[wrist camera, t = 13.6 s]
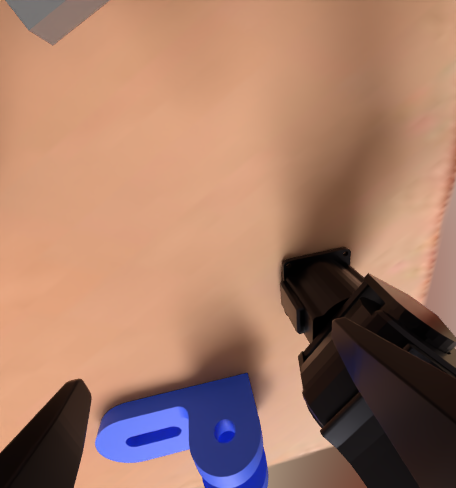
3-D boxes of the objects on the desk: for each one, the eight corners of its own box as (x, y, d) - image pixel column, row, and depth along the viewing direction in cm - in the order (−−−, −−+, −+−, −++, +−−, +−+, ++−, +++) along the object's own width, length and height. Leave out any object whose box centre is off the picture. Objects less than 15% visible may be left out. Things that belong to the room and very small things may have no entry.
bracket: (247, 371, 29) (270, 464, 21) (254, 413, 33) (277, 507, 25) (89, 409, 28) (50, 524, 20) (115, 449, 32) (91, 560, 23)
